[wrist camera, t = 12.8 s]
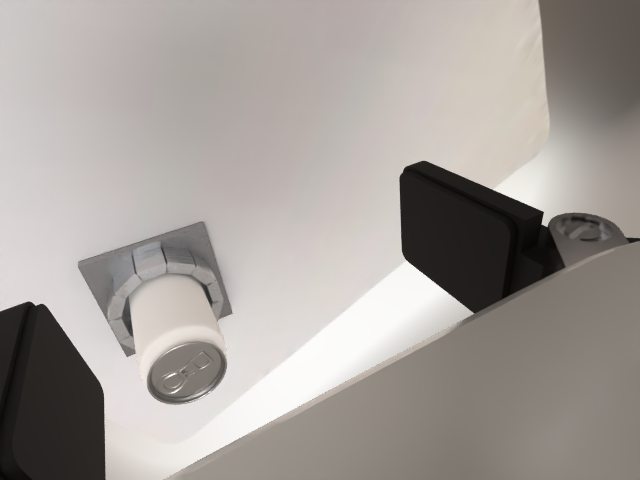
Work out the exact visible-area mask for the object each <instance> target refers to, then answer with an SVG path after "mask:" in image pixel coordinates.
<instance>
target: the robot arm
mask: <svg viewBox="0 0 640 480" xmlns="http://www.w3.org/2000/svg"><path fill="white" fill-rule="evenodd" d="M400 209H401V239H402V253H403V255H404V257H405V259H406V260H407V261H408V262H409V263H411V264H412V265H413V266H414V267H416V268H417V269H418V270H419V271H421V272H422V273H423V274H425V275H426V276H427V277H428V278H430V279H431V280H432V281H434V282H435V283H436V284H437V285H439V286H440V287H441V288H443V289H444V290H445V291H447V292H448V293H449V294H450V295H452V296H453V297H454V298H456V299H457V300H458V301H459V302H460V303H462V304H463V305H464V306H466V307H467V308H468V309H469V310H471V311H472V312H473V313H475V314H473V315H471V316H470V317H468V318H466V319H464V320H462V321H460V322H458V323H456V324H454V325H452V326H451V327H448V328H447V329H445V330H443V331H441V332H439V333H437V334H435V335H433V336H431V337H429V338H427V339H426V340H424V341H422V342H420V343H418V344H416V345H414V346H412V347H411V348H409V349H407V350H405V351H403V352H401V353H399V354H397V355H395V356H393V357H392V358H390V359H388V360H386V361H384V362H382V363H380V364H378V365H376V366H375V367H373V368H371V369H369V370H367V371H365V372H364V373H361V374H359V375H358V376H356V377H354V378H352V379H350V380H348V381H346V382H344V383H342V384H341V385H339V386H337V387H335V388H333V389H331V390H329V391H327V392H325V393H324V394H322V395H320V396H318V397H316V398H314V399H312V400H311V401H309V402H307V403H305V404H303V405H301V406H299V407H298V408H296V409H294V410H292V411H290V412H288V413H286V414H284V415H282V416H281V417H279V418H277V419H275V420H273V421H271V422H269V423H267V424H266V425H264V426H262V427H260V428H258V429H256V430H254V431H253V432H251V433H249V434H247V435H245V436H243V437H242V438H239V439H238V440H236V441H234V442H232V443H230V444H229V445H226V446H225V447H223V448H221V449H219V450H217V451H215V452H213V453H212V454H210V455H208V456H206V457H204V458H202V459H200V460H198V461H197V462H195V463H193V464H191V465H189V466H187V467H186V468H184V469H182V470H180V471H178V472H177V473H175V474H173V475H171V476H169V477H168V478H166V479H164V480H640V238H626V237H625V236H624V234H623V233H622V231H621V230H620V229H619V227H617V225H615V224H614V223H613V222H611V221H609V220H607V219H605V218H602V217H599V216H597V215H592V214H586V213H565V214H561V215H557V216H555V217H554V218H552V219H551V220H550V222H549V224H548V227H546V226H543V225H541V224H542V218H543V213H544V212H543V211H540V210H538V209H536V208H533V207H531V206H528V205H526V204H524V203H522V202H519V201H517V200H515V199H512V198H510V197H508V196H505V195H503V194H501V193H498V192H496V191H494V190H492V189H489V188H487V187H485V186H482V185H480V184H478V183H475V182H473V181H471V180H469V179H466V178H464V177H462V176H459V175H457V174H455V173H452V172H450V171H448V170H445V169H443V168H441V167H438V166H436V165H434V164H432V163H429V162H427V161H421V162H418V163H415V164H412V165H410V166H407V167H405V168H404V171H403V173H402V174H401V175H400ZM104 429H105V428H104V394H103V390H102V387H101V384H100V382H99V381H98V379H97V378H96V376H95V375H94V374H93V372H92V371H91V369H90V368H89V366H88V365H87V364H86V362H85V361H84V359H83V358H82V356H81V355H80V354H79V352H78V351H77V349H76V348H75V346H74V345H73V344H72V342H71V341H70V339H69V338H68V336H67V335H66V334H65V332H64V331H63V329H62V328H61V326H60V325H59V324H58V322H57V321H56V319H55V318H54V316H53V315H52V314H51V312H50V311H49V309H48V308H47V307H46V306H45V305H44V304H40V305H37V306H35V305H34V304H33V303H32V302H26V303H23V304H20V305H17V306H14V307H12V308H9V309H6V310H3V311H0V480H105V430H104Z"/></svg>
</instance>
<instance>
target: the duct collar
mask: <svg viewBox="0 0 640 480" xmlns="http://www.w3.org/2000/svg"><path fill="white" fill-rule="evenodd" d="M78 268H79V270H80V271H81V273H82V275H83V277H84V279H85V281H86V283H87V284H88V286H89V288H90V290H91V292H92V294H93V295H94V297H95V299H96V301H97V303H98V305H99V307H100V308H101V310H102V312H103V314H104V316H105V318H106V319H107V321H108V323H109V325H110V327H111V329H112V330H113V332H114V334H115V336H116V338H117V340H118V342H119V343H120V345H121V347H122V349H123V351H124V353H125V354H126V356H127V357H128V356H131V355H133V354H136V350H135V343H134V336H133V328H132V320H131V313H130V304H129V295H130V294H131V293H132V292H133V291H134V290H135V289H136V288H137V287H138V286H139V285H140V284H141V283H142V282H143V281H145V280H147V279H150V278H153V277H156V276H159V275H161V274H164V273H167V272H168V273H179V274H191V275H192V276H194V277H195V278H197V279H198V280H199V281H200V284H201V286H202V288H203V290H204V293H205V295H206V297H207V300H208V302H209V304H210V307H211V309H212V311H213V314H214V316H215V318H216V321H218V319H220V318H223V317H225V316H228V315H230V314H232V310H231V307H230V304H229V301H228V298H227V294H226V291H225V288H224V285H223V282H222V279H221V276H220V272H219V269H218V266H217V263H216V260H215V257H214V254H213V251H212V247H211V244H210V241H209V238H208V235H207V232H206V229H205V226H204V224H203V222H200V223H197V224H194V225H191V226H188V227H185V228H182V229H178V230H175V231H172V232H169V233H166V234H163V235H160V236H157V237H154V238H151V239H148V240H144V241H141V242H138V243H135V244H132V245H129V246H126V247H123V248H120V249H117V250H114V251H111V252H107V253H104V254H101V255H98V256H95V257H92V258H89V259H86V260H83V261H80V262H78Z"/></svg>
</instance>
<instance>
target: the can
mask: <svg viewBox="0 0 640 480" xmlns="http://www.w3.org/2000/svg"><path fill="white" fill-rule="evenodd" d="M129 304H130V313H131V320H132V328H133V336H134V343H135V350H136V358H137V364H138V370H139V374H140V377H141V379H142V381H143V382H144V384H145V385H146V386H147V387H148V390H149V392H150V394H151V395H152V396H153V397H154V398H155V399H157V400H158V401H160V402H163V403H166V404H174V405H177V404H186V403H190V402H193V401H196V400H198V399H200V398H202V397H204V396H206V395H207V394H209V393H210V392H211V391H213V390H214V389H215V388H216V387H217V386H218V385H219V383H220V382H221V381H222V379H223V377H224V375H225V372H226V368H227V360H226V352H227V349H226V343H225V340H224V337H223V335H222V333H221V330H220V328H219V325H218V323H217V321H216V318H215V316H214V314H213V311H212V309H211V307H210V304H209V302H208V300H207V297H206V295H205V293H204V290H203V288H202V286H201V284H200V281H199V280H198V279H197V278H195V277H194V276H192V275H191V274H179V273H168V272H167V273H164V274H161V275H159V276H156V277H153V278H150V279H147V280H145V281H143V282H142V283H141V284H140V285H139V286H138V287H137V288H136V289H135V290H134V291H133V292H132V293H131V294H130V295H129Z"/></svg>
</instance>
